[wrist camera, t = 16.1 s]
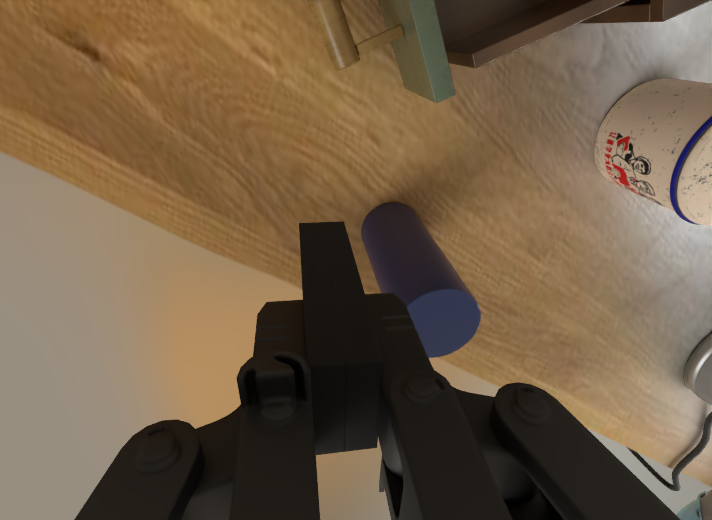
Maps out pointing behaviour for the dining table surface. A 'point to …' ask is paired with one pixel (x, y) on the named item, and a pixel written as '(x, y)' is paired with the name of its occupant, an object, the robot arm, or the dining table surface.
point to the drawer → (450, 34)
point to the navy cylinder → (420, 278)
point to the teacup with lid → (662, 146)
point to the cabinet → (645, 11)
